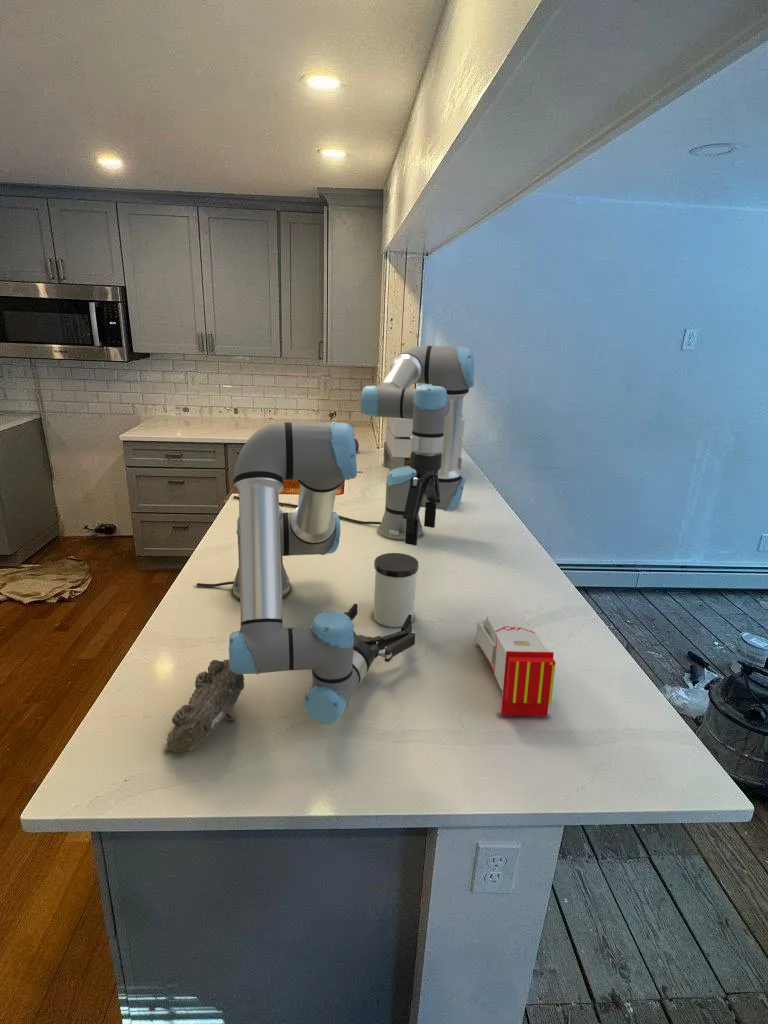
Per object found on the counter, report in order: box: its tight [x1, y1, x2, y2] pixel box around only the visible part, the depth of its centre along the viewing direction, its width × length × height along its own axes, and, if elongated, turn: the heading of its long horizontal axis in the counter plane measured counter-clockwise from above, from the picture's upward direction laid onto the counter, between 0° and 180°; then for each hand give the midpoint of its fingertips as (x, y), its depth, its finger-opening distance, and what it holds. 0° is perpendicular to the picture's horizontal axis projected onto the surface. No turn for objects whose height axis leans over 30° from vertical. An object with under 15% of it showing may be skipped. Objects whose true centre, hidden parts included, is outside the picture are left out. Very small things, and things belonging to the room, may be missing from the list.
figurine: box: [350, 424, 360, 454], centre depth 306 cm, size 9×10×15 cm
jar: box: [373, 569, 418, 628], centre depth 144 cm, size 10×10×15 cm
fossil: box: [166, 658, 245, 754], centre depth 106 cm, size 22×10×15 cm
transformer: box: [383, 417, 465, 472], centre depth 268 cm, size 34×33×41 cm
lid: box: [373, 552, 419, 577], centre depth 141 cm, size 11×11×2 cm
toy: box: [475, 615, 557, 717], centre depth 123 cm, size 12×13×30 cm
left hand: (382, 614), depth 135 cm, fingers open, 13 cm apart
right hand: (420, 535), depth 142 cm, fingers open, 13 cm apart
